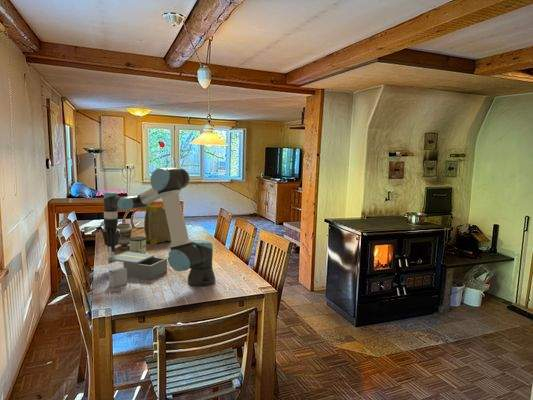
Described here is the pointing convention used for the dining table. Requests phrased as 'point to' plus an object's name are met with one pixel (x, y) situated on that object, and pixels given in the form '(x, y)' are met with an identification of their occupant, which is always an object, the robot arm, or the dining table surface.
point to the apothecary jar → (124, 235)
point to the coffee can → (138, 244)
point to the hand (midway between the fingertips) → (111, 256)
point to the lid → (130, 257)
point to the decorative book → (156, 225)
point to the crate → (147, 268)
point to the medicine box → (117, 277)
